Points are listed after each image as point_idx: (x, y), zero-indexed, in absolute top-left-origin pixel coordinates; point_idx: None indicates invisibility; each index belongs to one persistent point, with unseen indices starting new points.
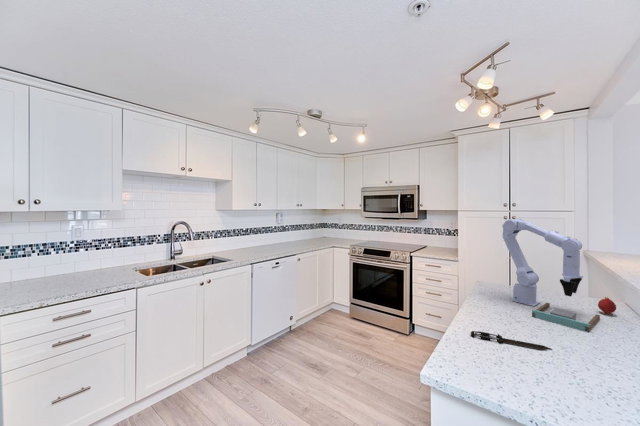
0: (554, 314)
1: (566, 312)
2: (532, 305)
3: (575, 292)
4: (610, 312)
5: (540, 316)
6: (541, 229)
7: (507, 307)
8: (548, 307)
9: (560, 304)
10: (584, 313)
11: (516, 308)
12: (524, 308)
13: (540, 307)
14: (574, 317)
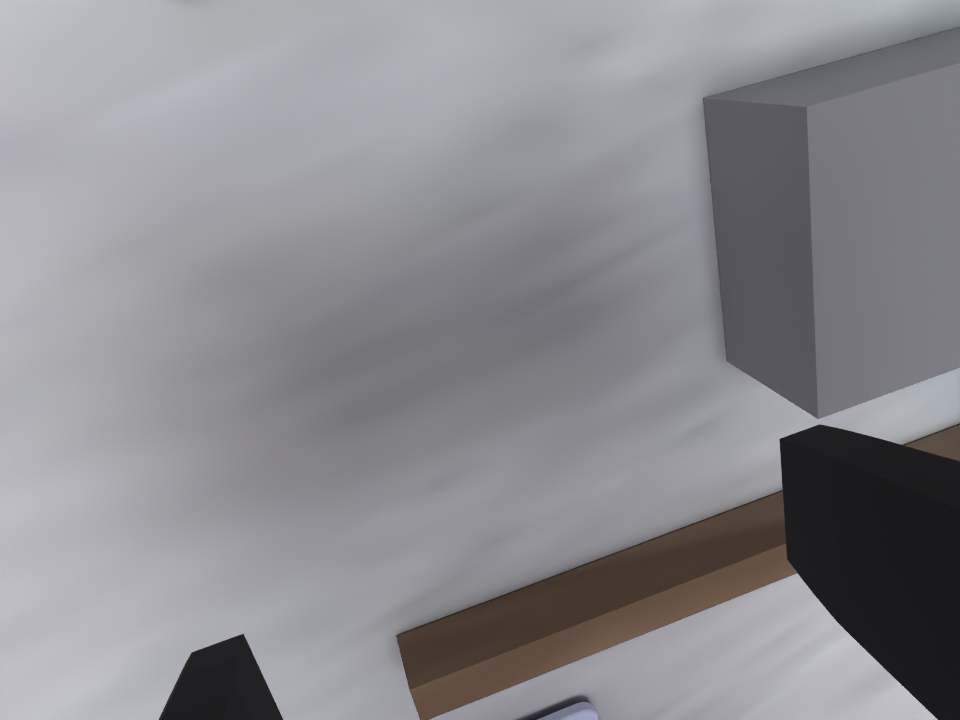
0: None
1: (918, 205)
2: (595, 716)
3: (238, 655)
4: None
5: None
6: None
7: (898, 715)
8: (452, 623)
9: (10, 711)
10: (69, 269)
11: (850, 676)
12: (770, 661)
13: (762, 577)
14: (879, 71)
